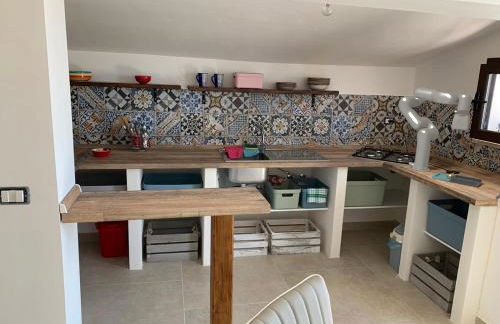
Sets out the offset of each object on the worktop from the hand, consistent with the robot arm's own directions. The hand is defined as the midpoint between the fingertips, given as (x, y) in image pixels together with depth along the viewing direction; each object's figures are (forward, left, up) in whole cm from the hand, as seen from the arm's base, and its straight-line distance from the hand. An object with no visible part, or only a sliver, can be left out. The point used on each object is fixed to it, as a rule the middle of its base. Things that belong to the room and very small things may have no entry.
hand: (458, 139), depth 262 cm
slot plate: (+11, -9, -27) cm, 31 cm away
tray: (-3, -9, -27) cm, 29 cm away
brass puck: (+2, -10, -25) cm, 27 cm away
